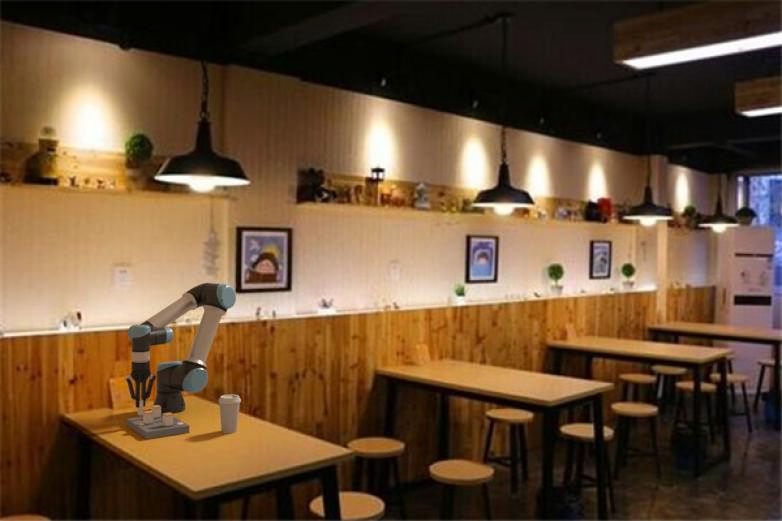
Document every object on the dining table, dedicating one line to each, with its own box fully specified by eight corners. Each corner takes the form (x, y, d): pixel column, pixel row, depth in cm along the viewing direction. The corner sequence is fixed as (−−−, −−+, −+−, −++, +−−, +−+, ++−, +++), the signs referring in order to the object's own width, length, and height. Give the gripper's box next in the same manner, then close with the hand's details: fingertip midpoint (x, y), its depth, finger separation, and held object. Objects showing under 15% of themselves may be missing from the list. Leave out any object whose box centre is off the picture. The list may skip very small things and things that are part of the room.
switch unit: (167, 419, 313) (167, 412, 313) (189, 432, 292) (189, 425, 292) (126, 425, 302) (126, 418, 302) (146, 439, 281) (146, 431, 281)
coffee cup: (237, 434, 291) (238, 399, 291) (215, 433, 291) (215, 398, 291) (242, 428, 301) (243, 394, 300) (221, 427, 301) (221, 393, 300)
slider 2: (170, 423, 294) (170, 412, 294) (173, 425, 291) (173, 414, 291) (162, 424, 292) (162, 413, 292) (165, 426, 289) (165, 415, 289)
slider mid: (150, 421, 297) (150, 410, 297) (153, 422, 294) (153, 412, 294) (143, 422, 295) (143, 411, 295) (145, 423, 292) (146, 413, 292)
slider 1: (158, 415, 307) (158, 404, 307) (161, 416, 304) (161, 406, 304) (151, 416, 305) (151, 405, 305) (153, 417, 302) (153, 407, 302)
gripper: (152, 358, 307) (152, 410, 307) (122, 360, 298) (122, 414, 299) (158, 360, 301) (158, 414, 301) (128, 363, 293) (127, 418, 293)
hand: (140, 414), depth 300 cm, fingers closed
